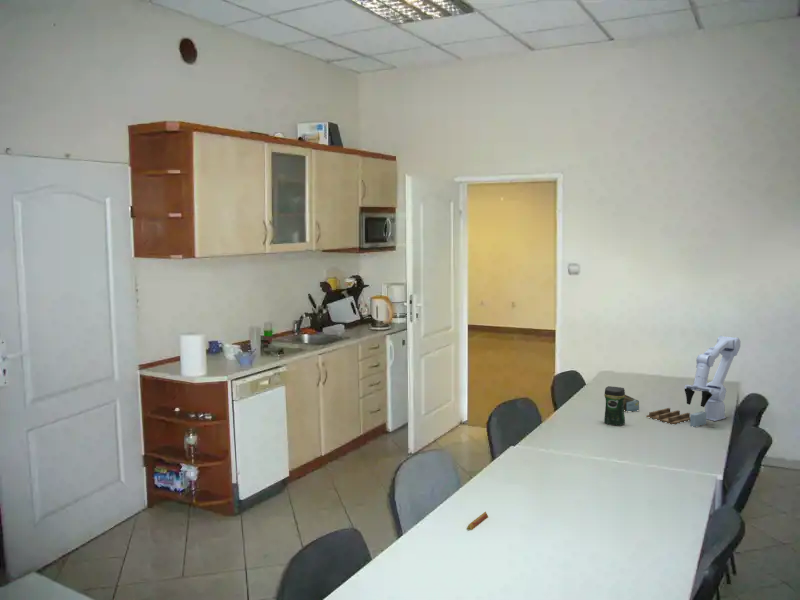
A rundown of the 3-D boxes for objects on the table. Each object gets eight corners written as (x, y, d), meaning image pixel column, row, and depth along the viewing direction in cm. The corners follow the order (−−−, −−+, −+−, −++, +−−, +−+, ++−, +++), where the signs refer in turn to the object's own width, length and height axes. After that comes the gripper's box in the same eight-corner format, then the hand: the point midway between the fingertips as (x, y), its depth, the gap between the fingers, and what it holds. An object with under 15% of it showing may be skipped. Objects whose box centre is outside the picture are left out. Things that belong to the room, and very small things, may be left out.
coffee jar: (626, 423, 341) (627, 386, 339) (621, 427, 335) (622, 389, 333) (607, 420, 347) (607, 384, 345) (602, 424, 340) (602, 387, 338)
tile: (701, 423, 339) (701, 411, 339) (706, 424, 337) (706, 412, 337) (690, 426, 335) (690, 414, 334) (694, 427, 332) (695, 415, 332)
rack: (665, 412, 358) (665, 407, 358) (692, 419, 345) (692, 414, 344) (646, 417, 350) (646, 411, 350) (673, 424, 337) (673, 418, 336)
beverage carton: (626, 413, 360) (626, 400, 359) (606, 404, 379) (606, 392, 378) (639, 411, 362) (639, 399, 361) (619, 402, 381) (619, 391, 380)
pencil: (489, 518, 235) (489, 512, 235) (472, 531, 225) (472, 525, 225) (482, 516, 236) (482, 510, 236) (465, 529, 226) (465, 523, 226)
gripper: (683, 374, 340) (677, 401, 338) (710, 378, 328) (704, 405, 326) (691, 378, 344) (685, 404, 342) (718, 381, 331) (712, 409, 329)
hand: (695, 405), depth 334 cm, fingers open, 7 cm apart
